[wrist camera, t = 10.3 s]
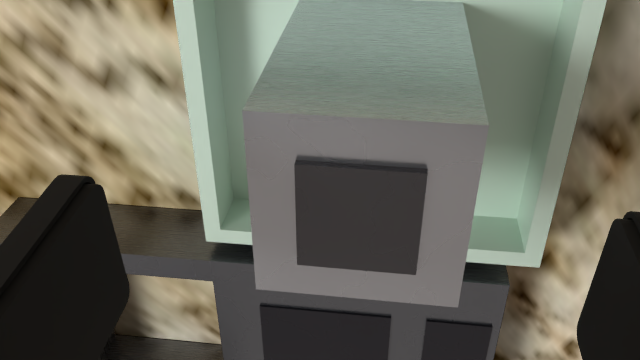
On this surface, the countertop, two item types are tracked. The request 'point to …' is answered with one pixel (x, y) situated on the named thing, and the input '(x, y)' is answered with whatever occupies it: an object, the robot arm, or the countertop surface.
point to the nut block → (366, 152)
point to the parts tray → (497, 89)
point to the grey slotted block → (289, 303)
